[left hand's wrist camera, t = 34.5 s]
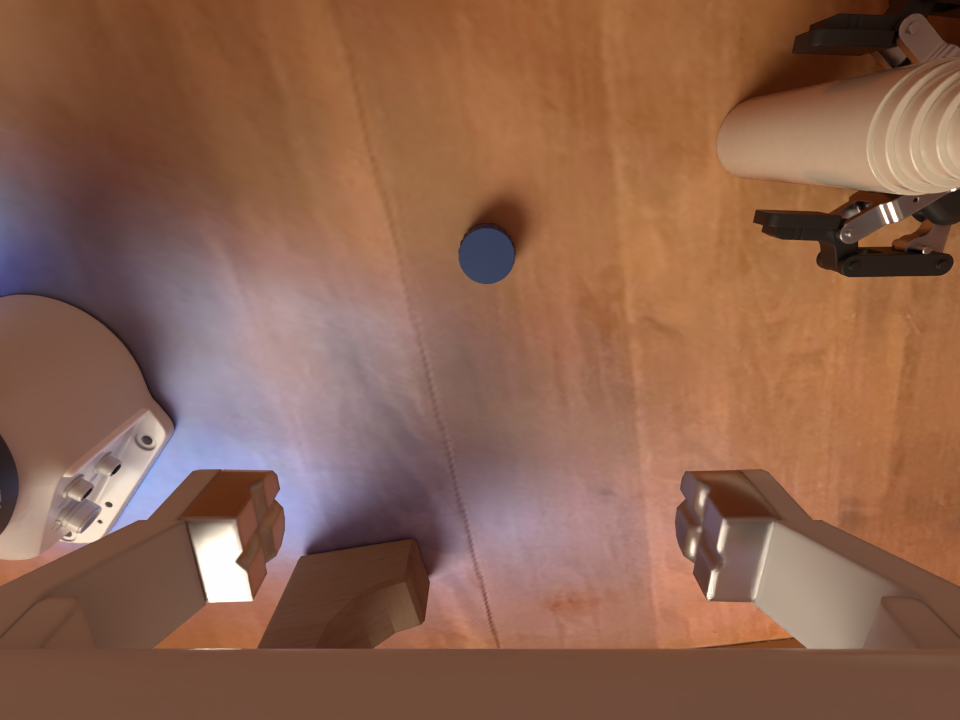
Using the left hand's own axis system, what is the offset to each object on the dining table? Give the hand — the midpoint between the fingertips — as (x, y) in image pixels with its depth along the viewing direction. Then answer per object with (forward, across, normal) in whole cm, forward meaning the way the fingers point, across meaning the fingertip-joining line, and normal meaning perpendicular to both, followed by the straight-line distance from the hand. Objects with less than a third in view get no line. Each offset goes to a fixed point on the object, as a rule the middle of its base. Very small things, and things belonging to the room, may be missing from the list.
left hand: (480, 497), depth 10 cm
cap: (+26, 0, 0) cm, 26 cm away
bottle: (+27, +18, +8) cm, 33 cm away
